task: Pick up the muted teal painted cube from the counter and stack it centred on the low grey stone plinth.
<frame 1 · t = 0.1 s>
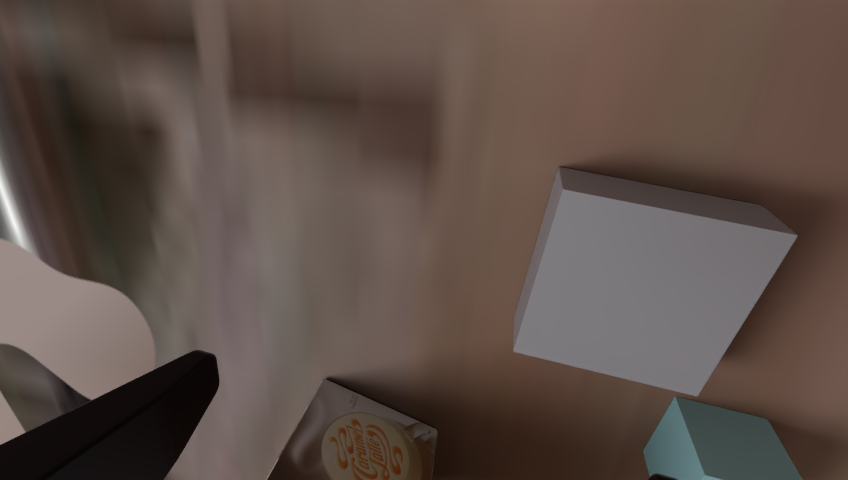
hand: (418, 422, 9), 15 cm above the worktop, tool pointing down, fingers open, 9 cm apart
teal cube: (701, 434, 26), on the worktop
coffee box: (368, 432, 32), on the worktop, touching arm
stone plinth: (623, 267, 22), on the worktop
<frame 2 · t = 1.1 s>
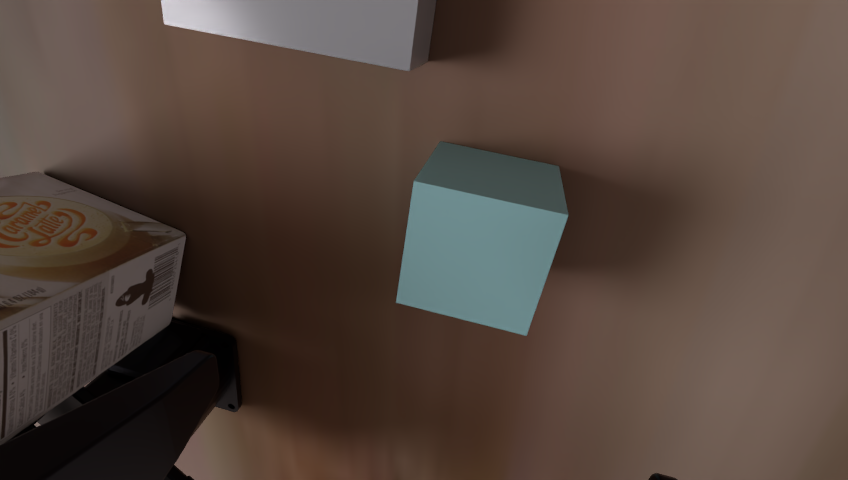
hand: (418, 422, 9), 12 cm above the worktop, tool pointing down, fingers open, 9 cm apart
teal cube: (485, 206, 19), on the worktop
coffee box: (112, 249, 25), on the worktop, touching arm
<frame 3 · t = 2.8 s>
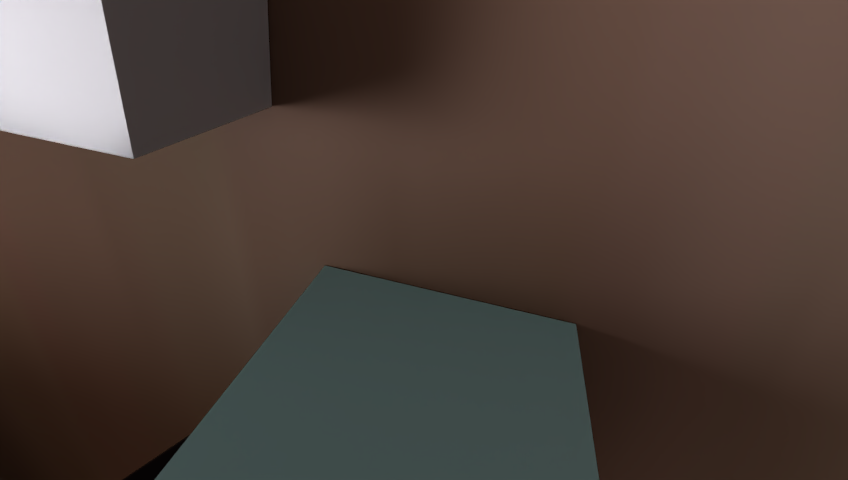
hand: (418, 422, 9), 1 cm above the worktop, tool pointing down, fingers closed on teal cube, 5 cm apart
teal cube: (428, 384, 10), on the worktop, touching gripper
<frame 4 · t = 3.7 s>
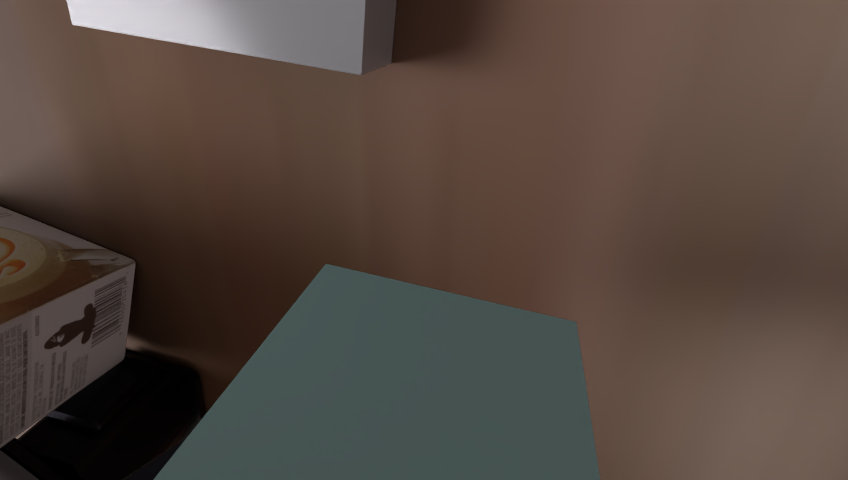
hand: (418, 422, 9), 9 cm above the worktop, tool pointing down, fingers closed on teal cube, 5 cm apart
teal cube: (429, 382, 10), point 8 cm above the worktop, touching gripper
coffee box: (57, 278, 22), on the worktop, touching arm
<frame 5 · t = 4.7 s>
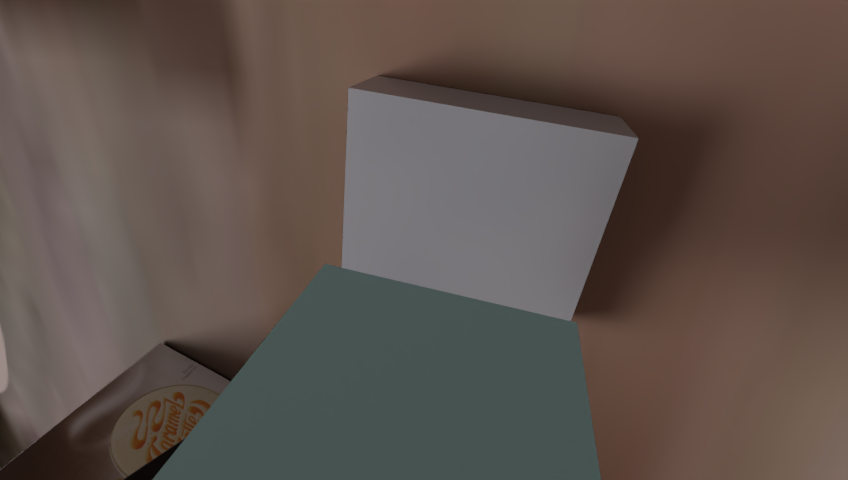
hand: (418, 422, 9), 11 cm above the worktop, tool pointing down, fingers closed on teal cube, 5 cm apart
teal cube: (429, 382, 10), point 10 cm above the worktop, touching gripper
coffee box: (213, 408, 28), on the worktop, touching arm
stone plinth: (472, 206, 18), on the worktop
when the fingers open (5 cm above the worktop, at t = 6.0 s): teal cube drops 1 cm, resting on stone plinth.
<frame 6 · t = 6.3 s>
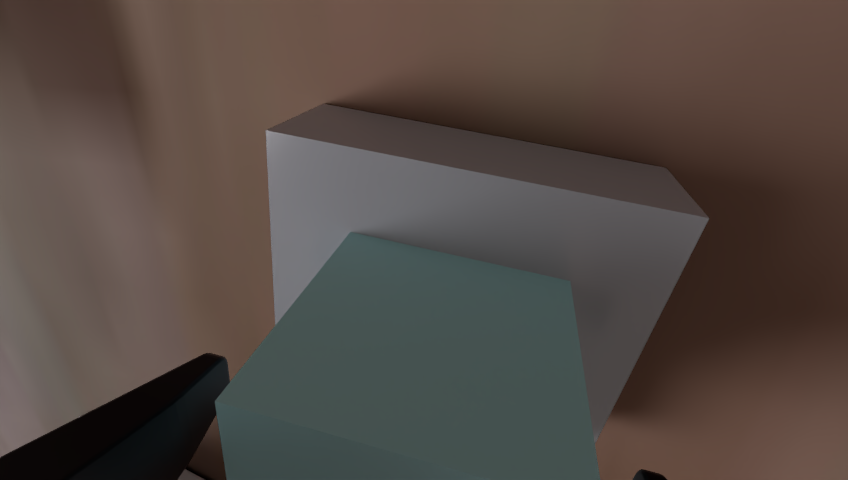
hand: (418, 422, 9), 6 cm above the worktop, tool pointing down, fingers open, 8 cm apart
teal cube: (440, 339, 11), point 3 cm above the worktop, touching stone plinth
stone plinth: (457, 276, 14), on the worktop
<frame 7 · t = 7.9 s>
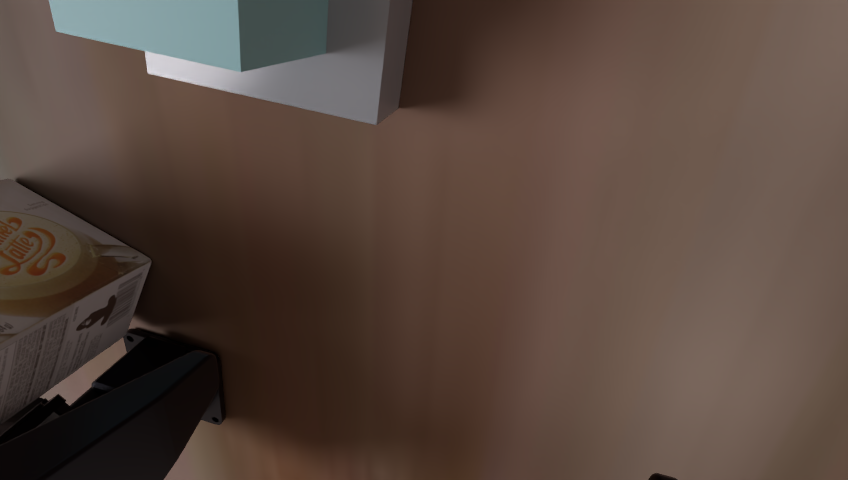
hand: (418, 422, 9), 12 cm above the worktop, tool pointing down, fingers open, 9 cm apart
coffee box: (76, 259, 26), on the worktop, touching arm
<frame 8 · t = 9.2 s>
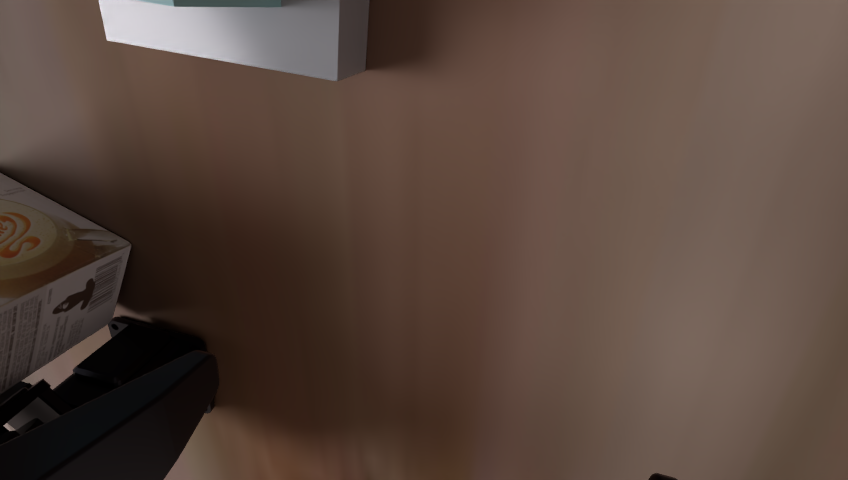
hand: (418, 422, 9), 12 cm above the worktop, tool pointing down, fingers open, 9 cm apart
coffee box: (58, 246, 26), on the worktop, touching arm
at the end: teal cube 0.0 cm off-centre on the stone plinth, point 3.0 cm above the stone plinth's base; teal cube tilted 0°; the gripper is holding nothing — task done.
